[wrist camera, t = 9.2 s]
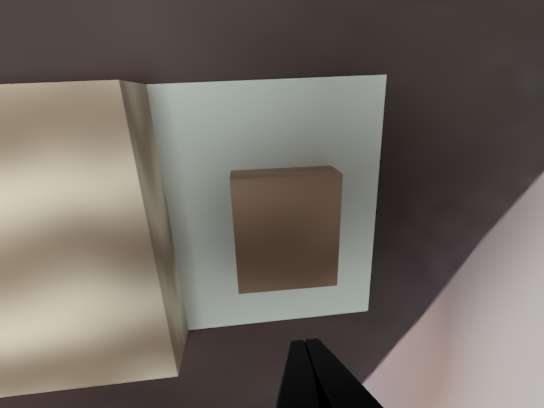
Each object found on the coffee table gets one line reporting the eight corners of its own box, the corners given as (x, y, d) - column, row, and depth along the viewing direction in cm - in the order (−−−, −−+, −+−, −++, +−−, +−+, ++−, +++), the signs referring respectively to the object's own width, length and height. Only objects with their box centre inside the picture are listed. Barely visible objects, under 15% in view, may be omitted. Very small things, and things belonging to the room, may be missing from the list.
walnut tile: (238, 294, 18) (238, 273, 20) (337, 285, 18) (327, 266, 20) (229, 179, 15) (231, 170, 17) (342, 173, 16) (331, 165, 18)
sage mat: (366, 308, 22) (367, 310, 22) (189, 327, 21) (188, 330, 21) (384, 75, 17) (386, 74, 16) (147, 84, 16) (146, 84, 15)
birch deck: (189, 327, 21) (177, 376, 17) (-55, 352, 20) (-124, 412, 16) (147, 84, 16) (118, 79, 12) (-191, 98, 14) (-343, 97, 11)
